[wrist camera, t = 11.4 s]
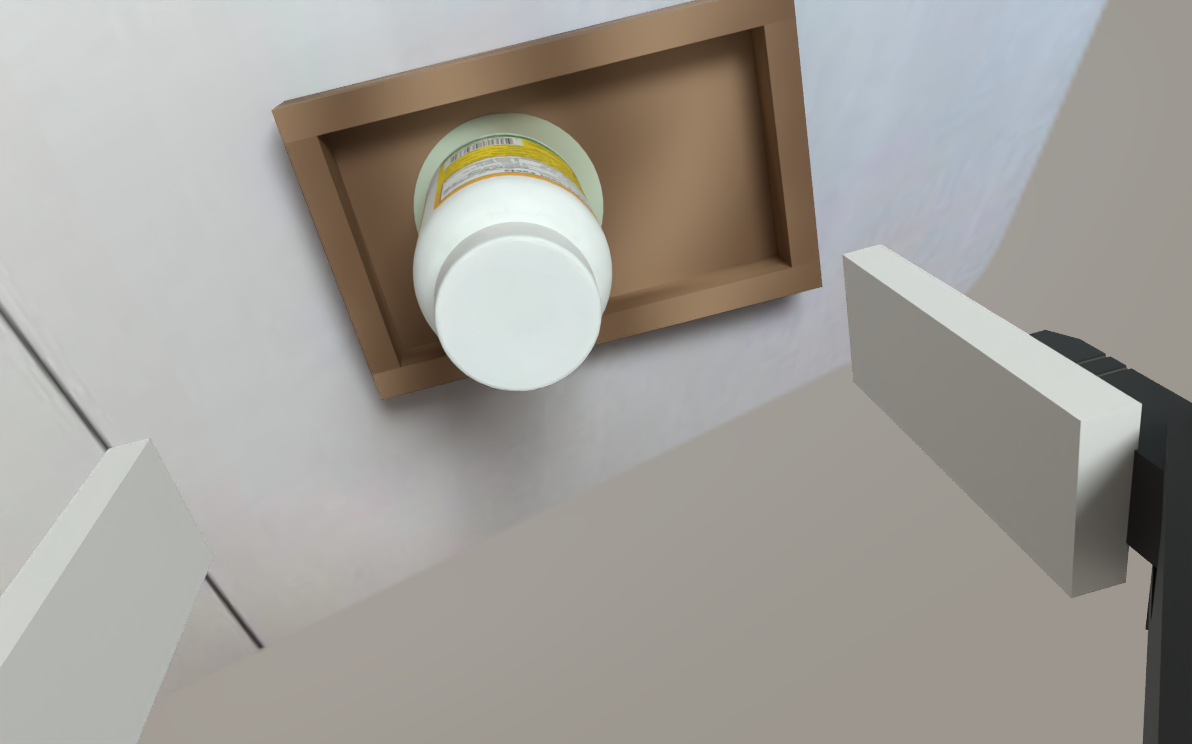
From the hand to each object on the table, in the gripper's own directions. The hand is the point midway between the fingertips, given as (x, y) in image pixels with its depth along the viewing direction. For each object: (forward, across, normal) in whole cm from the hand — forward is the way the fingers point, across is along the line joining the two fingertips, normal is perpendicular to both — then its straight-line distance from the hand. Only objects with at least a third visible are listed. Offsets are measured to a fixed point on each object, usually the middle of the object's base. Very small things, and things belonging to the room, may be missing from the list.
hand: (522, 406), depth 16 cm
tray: (+15, +3, 0) cm, 15 cm away
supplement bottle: (+14, 0, 0) cm, 14 cm away
